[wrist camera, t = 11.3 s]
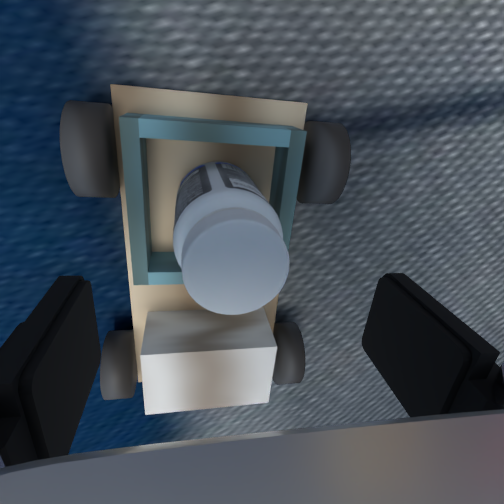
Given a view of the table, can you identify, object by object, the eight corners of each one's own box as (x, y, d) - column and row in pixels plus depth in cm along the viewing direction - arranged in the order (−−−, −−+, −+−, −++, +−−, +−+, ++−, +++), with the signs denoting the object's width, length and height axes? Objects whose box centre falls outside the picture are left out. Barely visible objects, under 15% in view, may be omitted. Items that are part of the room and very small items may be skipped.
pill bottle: (190, 245, 20) (191, 338, 13) (165, 171, 18) (148, 231, 10) (263, 225, 20) (307, 305, 13) (248, 150, 18) (290, 194, 11)
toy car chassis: (326, 104, 19) (371, 110, 14) (282, 359, 28) (301, 413, 23) (81, 81, 16) (40, 79, 12) (118, 371, 25) (103, 434, 20)
